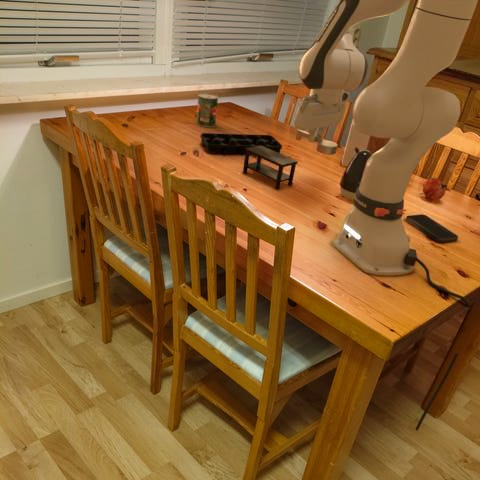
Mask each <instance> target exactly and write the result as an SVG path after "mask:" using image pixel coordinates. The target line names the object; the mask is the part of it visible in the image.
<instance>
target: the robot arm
mask: <svg viewBox="0 0 480 480" xmlns="http://www.w3.org/2000/svg"><path fill="white" fill-rule="evenodd" d="M408 1H409V0H339V1H338V2H337V3H336V5H335V7H334V8H333V10H332V11H331V13H330V15H329V16H328V18H327V20H326V21H325V23H324V24H323V26H322V28H321V29H320V31H319V33H318V34H317V35H316V37H315V39H314V41H313V42H312V43H311V44H310V46H309V47H308V48H307V49H306V50H305V51H304V53H303V55H302V56H301V59H300V61H299V65H298V76H299V78H300V80H301V82H302V84H303V86H305V87H306V88H307V89H308V90H309V91H310V92H309V95H306V96H304V98H303V99H302V100H301V101H300V103H299V105H298V108H297V112H296V114H295V119H294V128H295V129H296V130H299V129H300V130H302V131H308V133H309V135H310V136H309V138H308V142H309V143H312V144H313V143H316V139H317V136H318V137H320V138H323V135H324V133H325V132H326V130H327V127H331V126H337V125H340V124H341V123H342V121H343V120H344V117H345V112H346V109H347V101H349V98H350V93H349V92H348V91H354V90H357V89H359V88H360V87H361V86H362V85H363V83H364V82H365V80H366V78H367V75H368V71H369V63H368V60H367V57H366V56H365V54H364V53H363V52H361V51H359V50H358V48H357V47H356V46H355V44H354V41H353V35H352V34H351V33H350V32H348V31H349V30H350V29H351V28H352V27H353V26H355V25H357V24H359V23H362V22H364V21H367V20H370V19H375V18H379V17H380V18H381V17H386V16H389V15H392V14H394V13H396V12H398V11H399V10H401V9H402V8H403V7H404V6H405V5H406V4H407V3H408ZM478 2H479V0H417V2H416V4H415V7H414V11H413V14H412V17H411V19H410V22H409V25H408V27H407V31H406V33H405V36H404V39H403V41H402V43H401V46H400V48H399V50H398V52H397V54H396V56H395V57H394V59H393V60H392V62H391V63H390V64H389V66H388V67H387V69H386V70H385V71H384V72H383V73H382V74H381V75H380V76H379V77H378V79H376V80H374V82H372V83H371V84H370V85H367V86H366V87H365V88H363V89H362V90H361V91H360V93H359V94H358V95H357V97H356V99H355V101H354V104H353V108H352V120H354V124H355V126H356V128H357V130H358V131H359V132H361V133H363V134H366V135H369V136H370V137H373V138H378V139H388V141H387V143H386V144H385V145H383V147H381V148H380V149H378V150H377V151H375V152H374V153H371V154H372V155H371V156H370V157H369V159H368V160H367V162H366V166H365V169H364V173H363V176H362V180H361V183H360V187H359V188H358V189H357V191H356V193H355V196H354V200H353V201H352V206H351V208H350V210H349V211H348V212H347V213H346V215H345V216H344V219H343V221H342V224H341V227H340V229H339V231H338V234H337V237H335V238H334V239H333V241H332V242H331V245H332V247H334V248H335V249H336V250H338V251H339V252H340V253H342V254H343V255H344V256H345V257H346V258H347V259H349V261H351V262H352V263H353V264H354V265H356V266H357V268H359V269H360V270H361V271H362V272H364V273H367V274H370V275H375V276H385V277H386V276H390V277H391V276H403V275H408V274H410V273H412V272H413V271H414V269H415V268H414V267H415V265H416V263H418V264H419V265H420V266H421V267H422V268H423V270H424V271H425V276H426V281H427V282H428V284H429V285H430V286H431V287H433V288H435V289H436V290H438V291H440V292H442V293H445V294H447V295H449V296H451V297H454V298H457V299H460V300H461V301H463V302H464V303H465V305H466V307H467V309H471V310H472V305H471V303H470V301H469V300H468V299H467V298H466V297H464V296H463V295H460V294H458V293H455V292H453V291H451V290H448V289H446V288H443V287H441V286H439V285H438V284H436V283H434V282H433V281H432V279H431V275H430V270H429V268H428V267H427V265H426V264H425V263H424V262H423V261H421V259H419V258H418V254H417V250H416V249H414V248H410V242H411V236H410V235H408V234H407V232H406V229H405V225H404V223H403V218H402V217H403V215H406V213H405V212H407V209H404V208H405V199H404V198H405V195H406V192H407V189H408V186H409V184H410V182H411V179H412V176H413V174H414V172H415V170H416V168H417V166H418V165H419V163H420V162H421V160H423V158H424V157H425V155H426V154H427V153H428V151H429V150H430V149H431V148H432V147H433V146H434V145H435V144H436V143H437V142H438V141H439V140H441V139H442V138H444V137H446V136H447V135H449V134H450V133H451V132H452V131H453V130H454V129H455V127H456V125H457V124H458V121H459V119H460V115H461V105H460V104H461V103H460V100H459V98H458V97H457V95H455V94H454V93H453V92H450V91H448V90H445V89H442V88H439V87H435V86H427V84H428V83H429V81H431V80H432V78H434V77H435V76H436V75H437V74H439V73H440V72H442V71H444V70H445V69H447V68H448V67H449V66H451V65H452V64H453V62H454V61H455V59H456V58H457V56H458V53H459V50H460V48H461V46H462V43H463V41H464V37H465V35H466V33H467V32H468V31H467V30H468V28H469V25H470V24H471V21H472V19H473V15H474V13H475V10H476V7H477V4H478ZM458 356H459V353H458V352H457V353H454V354H453V357H452V359H451V362H450V363H449V365H448V367H447V369H446V372H445V373H444V375H443V377H442V379H441V381H440V383H439V384H438V386H437V388H436V390H435V391H434V393H433V395H432V397H431V399H430V400H429V402H428V404H427V406H426V408H425V409H424V411H423V413H422V415H421V417H420V419H419V421H418V423H417V425H416V427H415V431H416V432H417V431H419V429H420V427H421V425H422V423H423V421H424V420H425V417H426V415H427V414H428V412H429V410H430V408H431V406H432V405H433V404H434V401H435V399H436V398H437V396H438V394H439V392H441V391H440V390H441V389H442V387H443V385H444V384H445V382H446V380H447V378H448V376H449V375H450V372H451V370H452V369H453V367H454V365H455V363H456V360H457V358H458Z"/></svg>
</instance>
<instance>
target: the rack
mask: <svg viewBox="0 0 480 480" xmlns="http://www.w3.org/2000/svg"><path fill="white" fill-rule="evenodd" d="M245 151H246V153H245V155H244V160H243V168H242V169H243V170H242V173H243V174H244V175H246V174H248V170H251V171H252V172H255V173H257V174H259V175H261V176H263V177H265V178H267V179H269V180H272V181H274V182H275V186H274V189H275V190H280V188H281V183H284V182H287V186H289V187H292V186H293V182H294V176H295V171H296V166H297V165H298V160H296V159H293V158H292V157H288V156H286V155H284V154H282V153H281V152H280V153H277V152H275V151H273V150H270V149H268V148H266V147H263V146H261V145H260V146H255V147H250V148H245ZM250 155H253V156H255V157H256V161H254V162H253V161H252V162H250V163H249V161H250ZM262 160H263V161H266V162H269V163H271V164H273V165H275V166H277V167H278V169H277V168H274V167H272V166H270V165H269V164H266V163H264V162H262ZM286 167H290V170H289V172H290V173H289V174H287V173H286V172H283V171H284V168H286Z"/></svg>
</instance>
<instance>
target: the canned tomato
mask: <svg viewBox="0 0 480 480" xmlns="http://www.w3.org/2000/svg"><path fill="white" fill-rule="evenodd" d="M197 96H198V99H197V110H196V111H197V112H196V123H195V124H196V125H197V126H199V127H203V128H214V127H216V123H217V113H218V103H219V102H218V101H219V96H218V95H216V94H212V93H204V92H202V93H198V95H197Z"/></svg>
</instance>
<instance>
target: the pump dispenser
mask: <svg viewBox="0 0 480 480" xmlns="http://www.w3.org/2000/svg"><path fill="white" fill-rule="evenodd" d="M355 152H356V155H355V156H354V157H353V158H352V159H351V161H350V162H349V164H348V166H347V167H346V168H345V170H344V172H343V173H342V176H341V178H340V181H339V187H340V189H339V190H340V194H341V195H342V197H343V198H345V200H348V201H349V202H350V201H351V202H353V200H354V196H355V193H356V191H357V189H358V188H359V187H360V183H361V180H362V176H363V173H364V169H365V166H366V162H367V160H368V159H369V157H370V156H371V155H372V154H373V153H372V151H369V150H367V149H366V150H361V151H359V149H358V148H355Z"/></svg>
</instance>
